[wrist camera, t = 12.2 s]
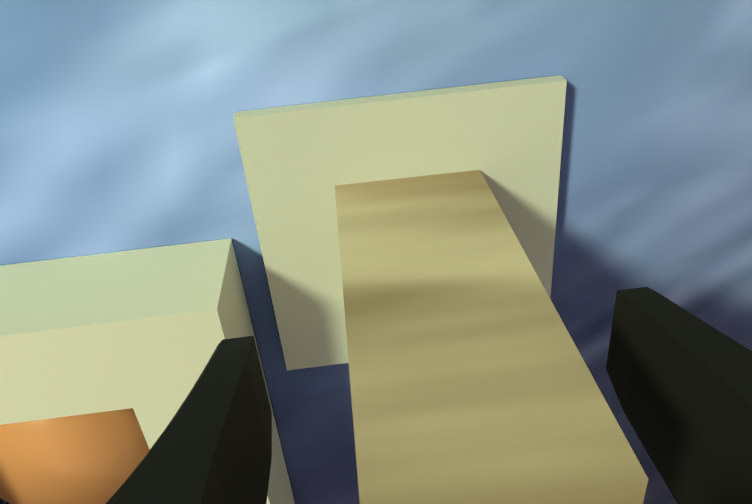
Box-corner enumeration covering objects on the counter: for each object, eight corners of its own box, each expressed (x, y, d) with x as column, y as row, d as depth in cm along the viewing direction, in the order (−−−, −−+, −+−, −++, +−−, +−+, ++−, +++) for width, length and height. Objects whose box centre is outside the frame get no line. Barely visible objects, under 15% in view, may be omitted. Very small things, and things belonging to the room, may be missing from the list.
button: (187, 468, 20) (180, 507, 19) (27, 489, 20) (10, 529, 19) (143, 348, 18) (131, 383, 16) (-41, 370, 17) (-67, 408, 16)
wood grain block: (478, 288, 17) (613, 632, 10) (349, 303, 17) (381, 663, 9) (479, 169, 15) (648, 478, 8) (334, 185, 15) (360, 515, 8)
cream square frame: (296, 511, 22) (295, 596, 19) (-27, 553, 22) (-71, 646, 19) (231, 238, 16) (217, 309, 14) (-213, 291, 16) (-312, 374, 13)
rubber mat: (543, 328, 19) (547, 338, 18) (287, 361, 18) (287, 370, 18) (561, 75, 15) (566, 80, 14) (235, 111, 14) (233, 118, 14)
